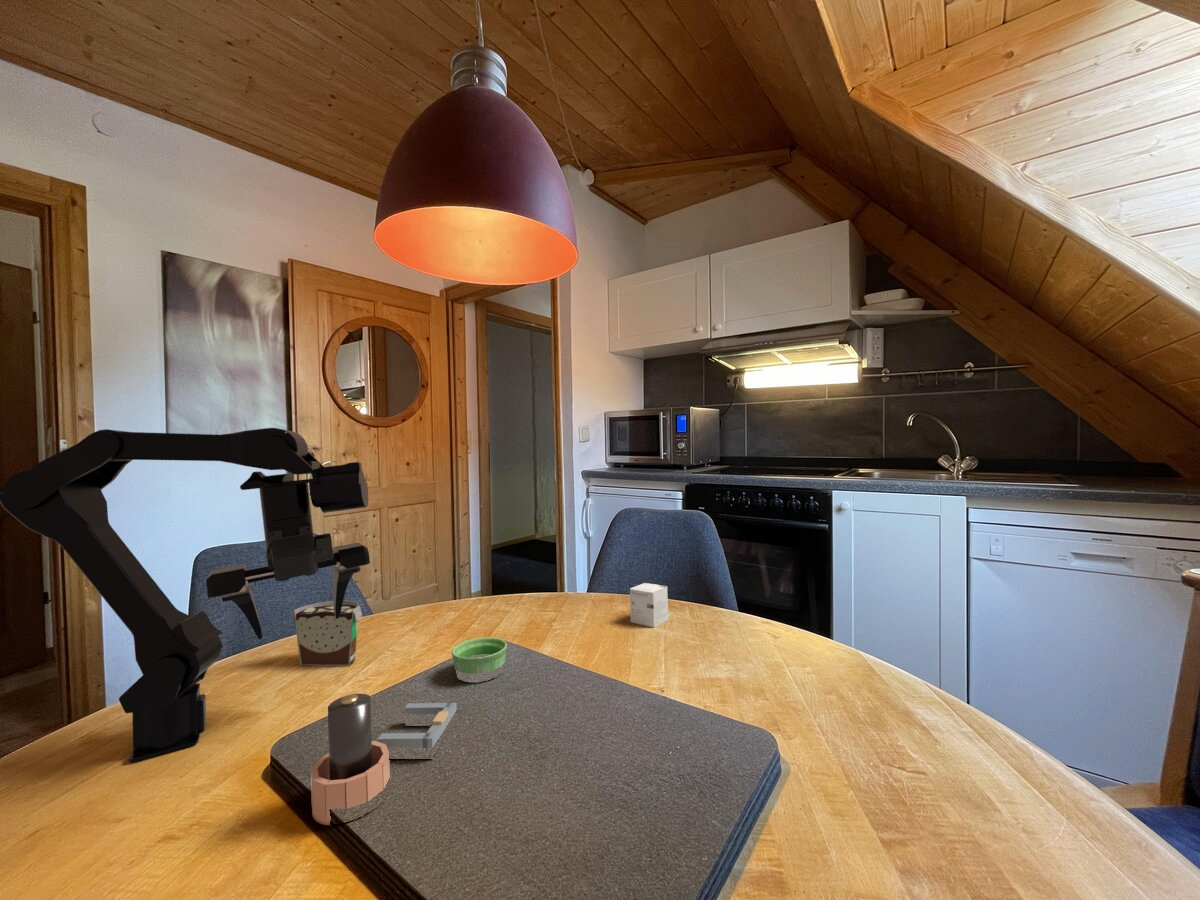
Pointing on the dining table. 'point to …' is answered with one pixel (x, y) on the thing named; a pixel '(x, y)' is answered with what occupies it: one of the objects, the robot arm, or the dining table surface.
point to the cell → (349, 736)
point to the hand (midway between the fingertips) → (300, 627)
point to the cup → (347, 785)
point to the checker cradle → (422, 739)
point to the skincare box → (649, 604)
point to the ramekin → (475, 648)
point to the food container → (327, 633)
